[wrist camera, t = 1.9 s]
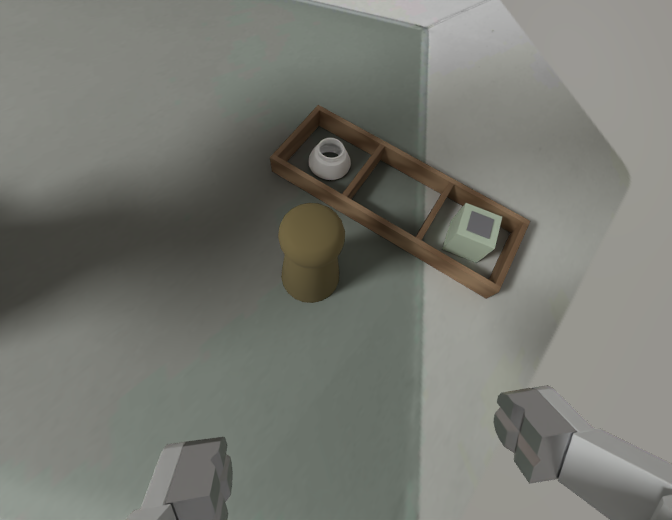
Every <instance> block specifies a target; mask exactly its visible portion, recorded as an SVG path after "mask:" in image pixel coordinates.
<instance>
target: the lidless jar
mask: <svg viewBox="0 0 672 520" xmlns="http://www.w3.org/2000/svg"><path fill="white" fill-rule="evenodd" d="M324 152H333V153H336V154H338V155H339V156H337V157H334V158H329V157H326V156H324V155H323V154H322V153H324ZM350 166H351V161H350V156H349V155H348V153H347V151H346V149H345V147H344V146H343V144H342V143H341V142H340V141H339V140H337V139H335V138H326V139H323V140H322V141H320V143H319V144H318V145H317V146H316V147H315V148H314V149H313V150H312V152H311V153H310V155H309V167H310V169H311V171H312V172H313V173H314V174H315V175H316V176H317V177H320V178H322V179H325V180H336V179H339V178H342V177H343V176H344V175H346V174H347V173H348V171H349V169H350Z"/></svg>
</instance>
